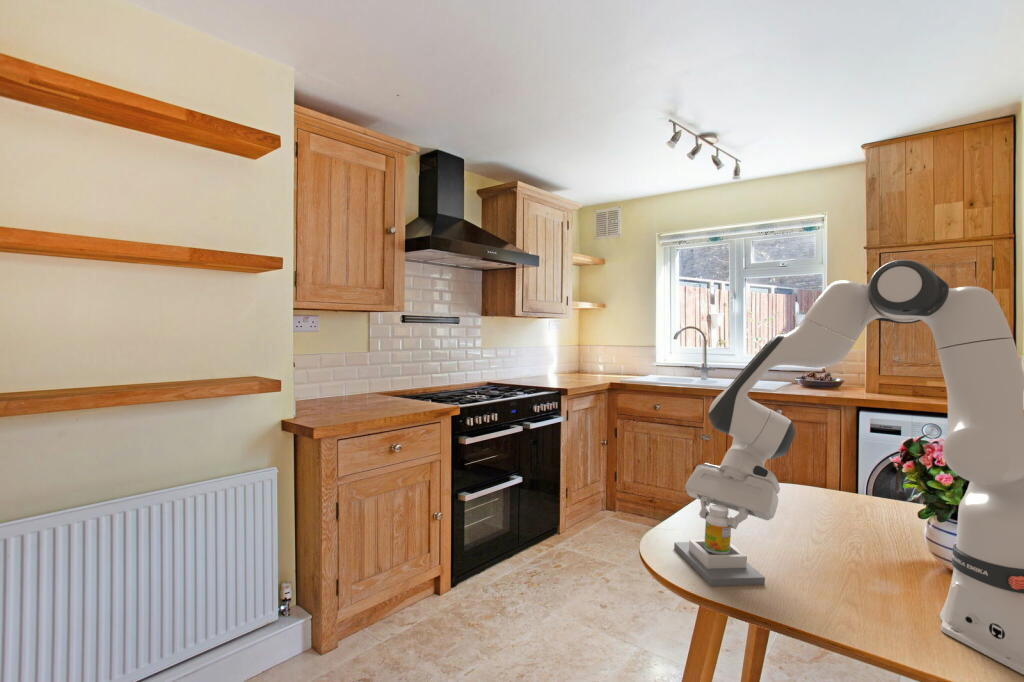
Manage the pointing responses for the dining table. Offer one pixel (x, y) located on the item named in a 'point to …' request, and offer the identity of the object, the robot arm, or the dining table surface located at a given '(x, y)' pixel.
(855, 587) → the dining table surface
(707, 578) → the socket board
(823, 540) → the dining table surface
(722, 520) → the supplement bottle
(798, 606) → the dining table surface
